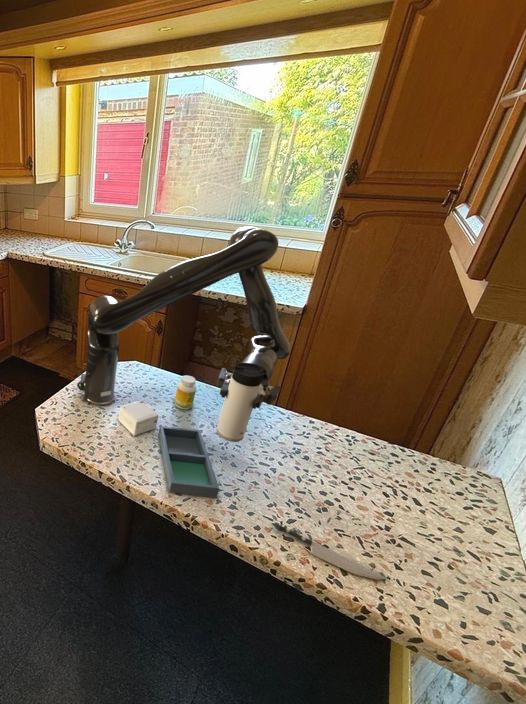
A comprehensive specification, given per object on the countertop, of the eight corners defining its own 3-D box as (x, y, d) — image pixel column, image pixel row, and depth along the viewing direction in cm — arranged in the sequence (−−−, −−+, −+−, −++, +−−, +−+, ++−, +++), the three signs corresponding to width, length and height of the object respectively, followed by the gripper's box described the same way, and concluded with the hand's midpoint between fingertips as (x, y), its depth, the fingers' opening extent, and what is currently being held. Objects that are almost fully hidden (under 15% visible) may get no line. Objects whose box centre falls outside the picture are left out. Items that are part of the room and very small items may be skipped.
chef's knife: (386, 593, 73) (386, 579, 75) (389, 589, 73) (389, 576, 75) (271, 535, 83) (273, 524, 85) (272, 531, 83) (275, 521, 85)
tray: (169, 492, 93) (171, 482, 92) (158, 434, 111) (159, 425, 110) (216, 497, 92) (219, 488, 91) (197, 438, 110) (199, 429, 109)
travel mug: (247, 444, 98) (270, 376, 88) (218, 440, 99) (238, 372, 89) (241, 428, 103) (262, 362, 94) (213, 424, 104) (232, 358, 95)
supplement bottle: (179, 397, 127) (184, 372, 123) (195, 404, 124) (201, 378, 119) (170, 404, 124) (176, 378, 119) (187, 412, 120) (193, 385, 116)
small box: (134, 436, 110) (136, 422, 108) (117, 420, 117) (119, 405, 115) (156, 429, 113) (159, 414, 111) (139, 413, 120) (141, 399, 117)
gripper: (230, 349, 108) (210, 376, 96) (290, 367, 100) (277, 398, 88) (223, 373, 111) (204, 401, 99) (281, 392, 103) (268, 425, 91)
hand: (238, 399), depth 94 cm, fingers closed on travel mug, 6 cm apart
